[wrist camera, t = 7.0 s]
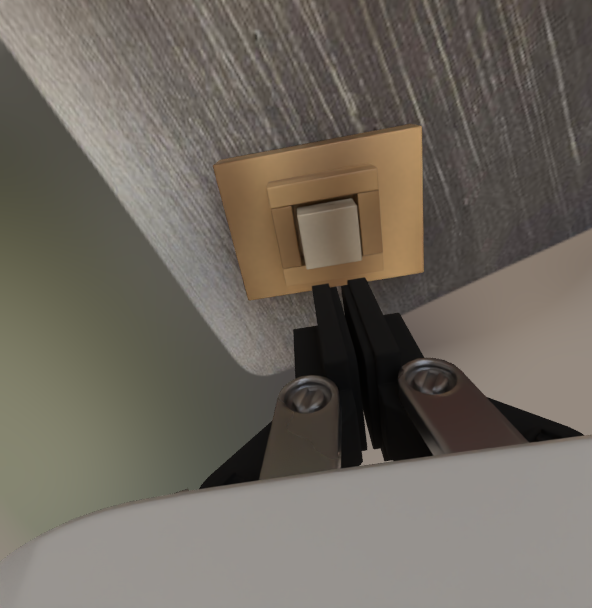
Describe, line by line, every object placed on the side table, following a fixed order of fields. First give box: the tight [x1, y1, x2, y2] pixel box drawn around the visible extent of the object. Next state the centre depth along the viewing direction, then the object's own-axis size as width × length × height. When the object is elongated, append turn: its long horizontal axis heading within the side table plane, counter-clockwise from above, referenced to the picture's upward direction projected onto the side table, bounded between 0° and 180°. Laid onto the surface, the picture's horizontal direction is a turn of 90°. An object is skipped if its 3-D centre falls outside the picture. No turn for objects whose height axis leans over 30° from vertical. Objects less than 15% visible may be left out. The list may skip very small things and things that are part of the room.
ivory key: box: [297, 198, 362, 269], centre depth 21 cm, size 3×3×2 cm
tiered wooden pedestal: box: [213, 124, 424, 300], centre depth 23 cm, size 12×9×4 cm
